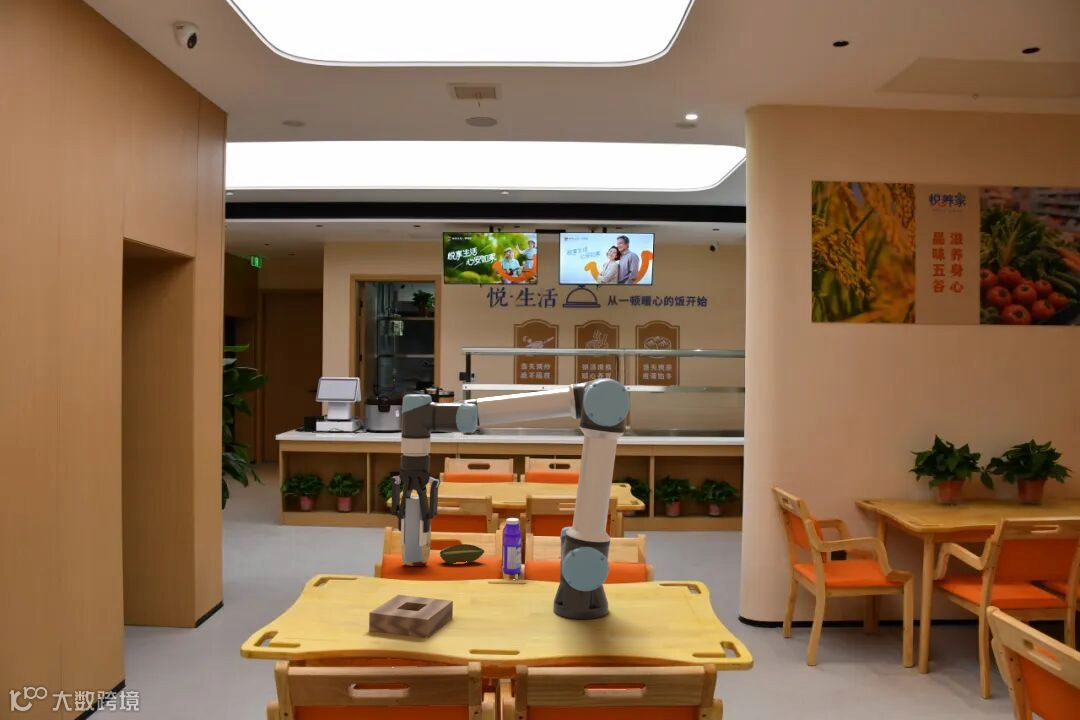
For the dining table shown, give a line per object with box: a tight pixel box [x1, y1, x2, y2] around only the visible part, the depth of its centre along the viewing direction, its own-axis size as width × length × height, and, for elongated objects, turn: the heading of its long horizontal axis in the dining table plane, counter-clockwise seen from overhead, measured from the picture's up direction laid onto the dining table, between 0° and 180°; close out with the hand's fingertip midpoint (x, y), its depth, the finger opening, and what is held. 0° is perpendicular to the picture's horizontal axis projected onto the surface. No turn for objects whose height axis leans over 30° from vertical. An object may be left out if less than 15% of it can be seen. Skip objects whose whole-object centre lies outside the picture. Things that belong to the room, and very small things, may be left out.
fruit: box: [439, 543, 485, 565], centre depth 264 cm, size 11×12×7 cm
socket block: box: [368, 594, 454, 639], centre depth 202 cm, size 16×16×4 cm
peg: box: [404, 496, 423, 562], centre depth 202 cm, size 4×4×16 cm
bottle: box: [502, 517, 522, 576], centre depth 253 cm, size 7×6×17 cm
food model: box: [401, 519, 432, 567], centre depth 260 cm, size 10×7×20 cm
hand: (413, 543), depth 202 cm, fingers closed on peg, 4 cm apart
